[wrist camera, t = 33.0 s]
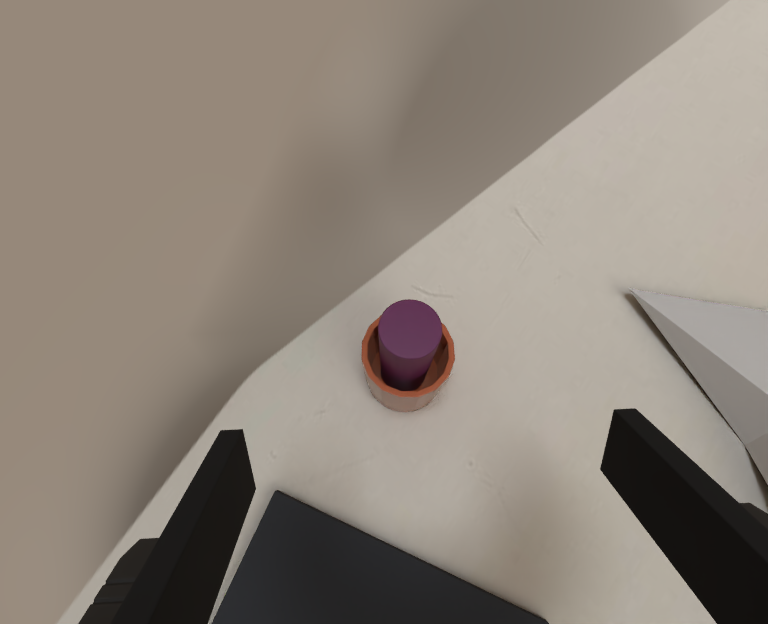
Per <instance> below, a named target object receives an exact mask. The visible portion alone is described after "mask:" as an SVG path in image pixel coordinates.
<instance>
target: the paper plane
mask: <svg viewBox="0 0 768 624" xmlns="http://www.w3.org/2000/svg"><path fill="white" fill-rule="evenodd" d="M629 290H630V291H631V292H632V294H633V295H634V297H635V298H636V299H637V301H638V302H639V303H640V305H641V306H642V307H643V309H644V310H645V311H646V313H647V314H648V315H649V317H650V318H651V319H652V321H653V322H654V323H655V325H656V326H657V328H658V329H659V330H660V332H661V333H662V334H663V336H664V337H665V338H666V340H667V341H668V342H669V344H670V345H671V346H672V348H673V349H674V350H675V352H676V353H677V354H678V356H679V357H680V359H681V360H682V361H683V363H684V364H685V365H686V367H687V368H688V369H689V371H690V372H691V373H692V375H693V376H694V377H695V379H696V380H697V381H698V383H699V384H700V386H701V387H702V388H703V390H704V391H705V392H706V394H707V395H708V396H709V398H710V399H711V400H712V402H713V403H714V404H715V406H716V407H717V408H718V410H719V411H720V412H721V414H722V415H723V417H724V418H725V419H726V421H727V422H728V423H729V425H730V426H731V427H732V429H733V430H734V431H735V433H736V434H737V435H738V437H739V438H740V439H741V441H742V442H743V443H744V445H745V446H746V448H747V450H748V452H749V453H750V455H751V457H752V459H753V460H754V462H755V464H756V465H757V467H758V469H759V471H760V472H761V474H762V476H763V478H764V479H765V481H766V483H767V484H768V311H763V310H757V309H751V308H745V307H739V306H733V305H727V304H721V303H715V302H709V301H703V300H697V299H691V298H685V297H679V296H673V295H667V294H661V293H655V292H649V291H643V290H637V289H631V288H629Z"/></svg>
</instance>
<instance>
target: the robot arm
mask: <svg viewBox="0 0 768 624" xmlns="http://www.w3.org/2000/svg"><path fill="white" fill-rule="evenodd" d="M600 470H601V471H602V472H603V474H604V475H605V476H606V478H607V479H608V480H609V482H610V483H611V484H612V486H613V487H614V488H615V490H616V491H617V492H618V494H619V495H620V496H621V497H622V499H623V500H624V501H625V503H626V504H627V505H628V507H629V508H630V509H631V511H632V512H633V513H634V515H635V516H636V517H637V519H638V520H639V521H640V523H641V524H642V525H643V527H644V528H645V529H646V530H647V532H648V533H649V534H650V536H651V537H652V538H653V540H654V541H655V542H656V544H657V545H658V546H659V548H660V549H661V550H662V552H663V553H664V554H665V556H666V557H667V558H668V559H669V561H670V562H671V563H672V565H673V566H674V567H675V569H676V570H677V571H678V573H679V574H680V575H681V577H682V578H683V579H684V581H685V582H686V583H687V585H688V586H689V587H690V589H691V590H692V591H693V592H694V594H695V595H696V596H697V598H698V599H699V600H700V602H701V603H702V604H703V606H704V607H705V608H706V610H707V611H708V612H709V614H710V615H711V616H712V618H713V619H714V620H715V621H716V623H717V624H768V514H767V513H765V512H764V511H762V510H760V509H759V508H757V507H756V506H754V505H752V504H751V503H738V502H737V501H736V500H735V499H734V498H733V497H732V496H731V495H730V494H729V493H727V492H726V491H725V490H724V489H723V488H722V487H721V486H720V485H719V484H718V483H716V482H715V481H714V480H713V479H712V478H711V477H710V476H709V475H708V474H707V473H706V472H704V471H703V470H702V469H701V468H700V467H699V466H698V465H697V464H696V463H695V462H693V461H692V460H691V459H690V458H689V457H688V456H687V455H686V454H685V453H684V452H683V451H681V450H680V449H679V448H678V447H677V446H676V445H675V444H674V443H673V442H672V441H670V440H669V439H668V438H667V437H666V436H665V435H664V434H663V433H662V432H661V431H660V430H658V429H657V428H656V427H655V426H654V425H653V424H652V423H651V422H650V421H649V420H647V419H646V418H645V417H644V416H643V415H642V414H641V413H640V412H639V411H638V410H636V409H616V410H614V412H613V416H612V421H611V425H610V429H609V434H608V438H607V442H606V447H605V451H604V455H603V460H602V464H601V468H600ZM255 490H256V487H255V482H254V478H253V473H252V469H251V464H250V460H249V455H248V451H247V446H246V442H245V437H244V433H243V429H240V430H221V431H220V433H219V434H218V436H217V438H216V440H215V441H214V443H213V445H212V447H211V448H210V450H209V452H208V454H207V455H206V457H205V459H204V461H203V462H202V464H201V466H200V468H199V469H198V471H197V473H196V475H195V476H194V478H193V480H192V482H191V483H190V485H189V487H188V489H187V490H186V492H185V494H184V496H183V497H182V499H181V501H180V503H179V504H178V506H177V508H176V510H175V511H174V513H173V515H172V517H171V518H170V520H169V522H168V524H167V525H166V527H165V529H164V531H163V532H162V534H161V536H160V538H149V539H140V540H139V541H138V542H137V543H136V544H135V545H133V546H132V547H131V548H130V549H129V550H128V551H127V552H126V553H125V554H124V555H123V556H122V557H121V558H120V560H119V561H118V563H117V564H116V566H115V567H114V569H113V571H112V572H111V574H110V575H109V577H108V578H107V580H106V584H105V585H103V586H102V588H101V589H100V591H99V592H98V594H97V595H96V597H95V599H94V602H93V604H92V605H90V606H89V608H88V610H87V611H86V613H85V614H84V616H83V617H82V619H81V620H80V622H79V624H208V621H209V618H210V616H211V613H212V610H213V607H214V604H215V602H216V599H217V596H218V593H219V590H220V588H221V585H222V582H223V579H224V576H225V574H226V571H227V568H228V565H229V562H230V560H231V557H232V554H233V551H234V548H235V546H236V543H237V540H238V537H239V535H240V532H241V529H242V526H243V523H244V521H245V518H246V515H247V512H248V509H249V507H250V504H251V501H252V498H253V495H254V493H255Z"/></svg>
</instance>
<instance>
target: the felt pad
mask: <svg viewBox="0 0 768 624" xmlns="http://www.w3.org/2000/svg"><path fill="white" fill-rule="evenodd" d="M212 624H549V623H548V622H547V621H546V620H545V619H543V618H541V617H539V616H537V615H535V614H532V613H530V612H528V611H526V610H524V609H522V608H520V607H518V606H516V605H514V604H512V603H510V602H508V601H506V600H504V599H501V598H499V597H497V596H495V595H493V594H491V593H489V592H487V591H485V590H483V589H481V588H479V587H477V586H475V585H473V584H470V583H468V582H466V581H464V580H462V579H460V578H458V577H456V576H454V575H452V574H450V573H448V572H446V571H444V570H442V569H439V568H437V567H435V566H433V565H431V564H429V563H427V562H425V561H423V560H421V559H419V558H417V557H415V556H413V555H410V554H408V553H406V552H404V551H402V550H400V549H398V548H396V547H394V546H392V545H390V544H388V543H386V542H384V541H382V540H379V539H377V538H375V537H373V536H371V535H369V534H367V533H365V532H363V531H361V530H359V529H357V528H355V527H353V526H351V525H348V524H346V523H344V522H342V521H340V520H338V519H336V518H334V517H332V516H330V515H328V514H326V513H324V512H322V511H320V510H317V509H315V508H313V507H311V506H309V505H307V504H305V503H303V502H301V501H299V500H297V499H295V498H293V497H291V496H288V495H286V494H284V493H282V492H280V491H278V490H277V491H275V492H274V494H273V496H272V498H271V501H270V503H269V505H268V507H267V509H266V511H265V513H264V515H263V517H262V519H261V521H260V524H259V526H258V528H257V530H256V532H255V534H254V536H253V538H252V540H251V542H250V545H249V547H248V549H247V551H246V553H245V555H244V557H243V559H242V561H241V563H240V565H239V568H238V570H237V572H236V574H235V576H234V578H233V580H232V582H231V584H230V586H229V589H228V591H227V593H226V595H225V597H224V599H223V601H222V603H221V605H220V607H219V609H218V612H217V614H216V616H215V618H214V620H213V622H212Z"/></svg>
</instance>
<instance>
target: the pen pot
mask: <svg viewBox="0 0 768 624" xmlns="http://www.w3.org/2000/svg"><path fill="white" fill-rule="evenodd" d="M381 316H382V315H381ZM381 316H380V317H381ZM380 317H379V318H378V319H377V320H375V321H374V322H373V323H372V324H371V325H370V327H369V328H368V330H367V332H366V334H365V336H364V339H363V341H362V363H363V368H364V372H365V376H366V381H367V383H368V386H369V389H370V391H371V393H372V395H373V396H374V397H375V398H376V399H377V401H379V402H380V403H381V404H382V405H384V406H385V407H387V408H389V409H392V410H395V411H399V412H410V411H415V410H418V409H420V408H422V407H424V406H426V405H427V404H428V403H429V402H430V401H431V400H432V399H433V398H434V397H435V396H436V395H437V394H438V392H439V390H440V389H441V387H442V386H443V384H444V383H445V381H446V380H447V378H448V377H449V375H450V372H451V369H452V366H453V363H454V360H455V355H454V343H453V340H452V338H451V336H450V334H449V332H448V330H447V328H446V326H445V325H444V324H442V323H441V324H442V337H441V340H440V343H439V345H438V347H437V350H436V352H435V355H434V357H433V360H432V362H431V365H430V367H429V369H428V372H427V374H426V377H425V379H424V381H423V383H422V384H421V385H420V386H419V387H418V388H416V389H415V390H413V391H400V390H397V389H395V388H392V387H390V386H387V384H386V383H385V382H384V380H383V378H382V376H381V367H380V352H379V336H378V324H379V320H380Z"/></svg>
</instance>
